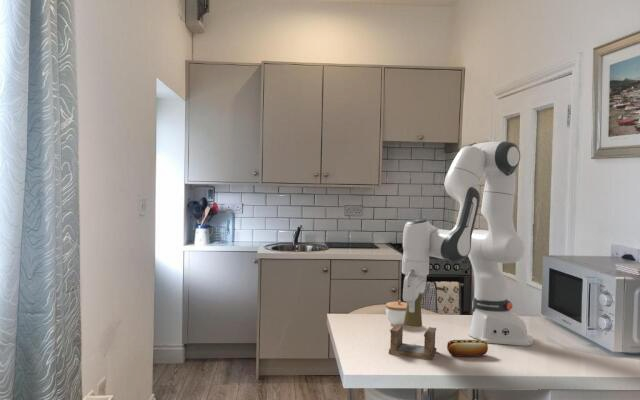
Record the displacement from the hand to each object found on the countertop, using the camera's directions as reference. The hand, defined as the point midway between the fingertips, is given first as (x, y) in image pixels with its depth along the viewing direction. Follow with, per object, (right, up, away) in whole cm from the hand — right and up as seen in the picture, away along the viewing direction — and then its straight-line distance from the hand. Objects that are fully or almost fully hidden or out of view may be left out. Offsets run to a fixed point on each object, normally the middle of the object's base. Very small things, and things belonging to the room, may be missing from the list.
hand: (413, 310), depth 168 cm
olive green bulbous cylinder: (0, -5, 0) cm, 5 cm away
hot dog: (+17, -15, -1) cm, 23 cm away
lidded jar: (0, -13, +35) cm, 37 cm away
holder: (0, -14, +1) cm, 14 cm away
